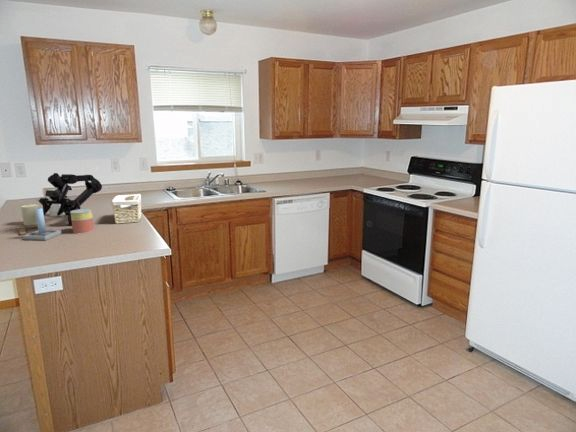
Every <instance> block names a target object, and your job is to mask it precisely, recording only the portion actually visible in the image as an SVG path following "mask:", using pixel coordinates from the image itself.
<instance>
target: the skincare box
mask: <svg viewBox="0 0 576 432" xmlns="http://www.w3.org/2000/svg"><path fill="white" fill-rule="evenodd" d="M45 198H47V199H49V200H52V199H50V197H48V196H45ZM50 207H51V208H50V209H49V210H48V213H49V217H63V216H66V215H65V213H64V212H63V213H62V214H60V215H59V216H58V215H57V213H58V211H59V208H60V204H52V205H51V206H50Z"/></svg>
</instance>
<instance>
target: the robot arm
mask: <svg viewBox="0 0 576 432" xmlns="http://www.w3.org/2000/svg"><path fill="white" fill-rule="evenodd" d="M47 182H48V183H50V185H52V186H53V187H54V188H55V190H54V189H53V190H52V189H49V190H47V189H46V190H45V193H44V194H45V195H44V196H45V197H40V198H39V199H38V202H39V203H40V204H41V205H42V208H43V214H44V216H45V215H46V214H47V213H49V209H50V208H51V207H50V206H51V205H52V204H60V208H59V211H58V213H57V215H58V216H57V217H60V216H59V215H60V214H62V213H63V212H64V213H65V215H64V216H67V221H68V224H67V226H71V227H72V220H71V213H70V212H71V211H73V210H77V209H81V206H82V205H83V204H84V203H85V202H86V201H87V200H88V199H89V198H90V197H91V196H92V195H94V194H96V193H99V192H100V191H102V188H103V185H102V184H101V181H99V180H98V179H97V178H95V176H94V175H92V174H84V175H83V174H81V175H77V174H71V173H69V174H67V173H66V174H65V173H62V174H61V176H60V175H59V174H58V173H57V172H54V173H53V174H51V175H50V176H48V178H47ZM79 182H84V185H85V189H84V190H83V191H82V192H81V193H80V194H79V195H78V196H77V197H76V198H75V199H70V198H69V197H68V196H67V194H68V191H73V190H72V187H71V185H73V184H76V183H79ZM46 196H48V197H50V199H52V200H49V199H47V198H46Z"/></svg>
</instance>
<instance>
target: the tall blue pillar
mask: <svg viewBox="0 0 576 432" xmlns="http://www.w3.org/2000/svg"><path fill="white" fill-rule="evenodd" d="M35 212H36V219H37V225H36V226H38V228H37V229H38V231H39V232H37V233H35V234H34V236H45V235H48V234H50V233H52V232H46V230H47V228H46V221H45V215H44V214H43V207H40V208H39V207H38V209H35Z"/></svg>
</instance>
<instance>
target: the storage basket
mask: <svg viewBox="0 0 576 432" xmlns="http://www.w3.org/2000/svg"><path fill="white" fill-rule="evenodd" d="M111 206H112V211H113V217H114V223H115V224H126V223H127V224H131V223H138V222H139V221H140V220H141V219H142V195H141V193H136V194H135V193H134V194H120V195H119V194H118V195H115V196H114V197H113V199H112V201H111Z"/></svg>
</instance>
